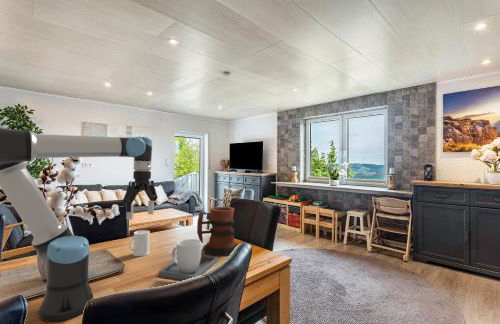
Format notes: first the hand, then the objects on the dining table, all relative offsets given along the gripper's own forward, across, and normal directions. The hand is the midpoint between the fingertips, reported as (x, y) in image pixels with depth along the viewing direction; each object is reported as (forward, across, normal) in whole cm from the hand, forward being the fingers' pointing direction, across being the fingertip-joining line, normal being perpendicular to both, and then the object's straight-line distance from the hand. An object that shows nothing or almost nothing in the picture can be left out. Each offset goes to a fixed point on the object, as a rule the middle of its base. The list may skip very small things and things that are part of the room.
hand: (140, 216), depth 120 cm
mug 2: (+24, +7, -21) cm, 33 cm away
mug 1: (+26, +19, +16) cm, 36 cm away
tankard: (+25, +39, -23) cm, 51 cm away
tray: (+25, +11, -21) cm, 34 cm away
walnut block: (+24, +19, -20) cm, 37 cm away
